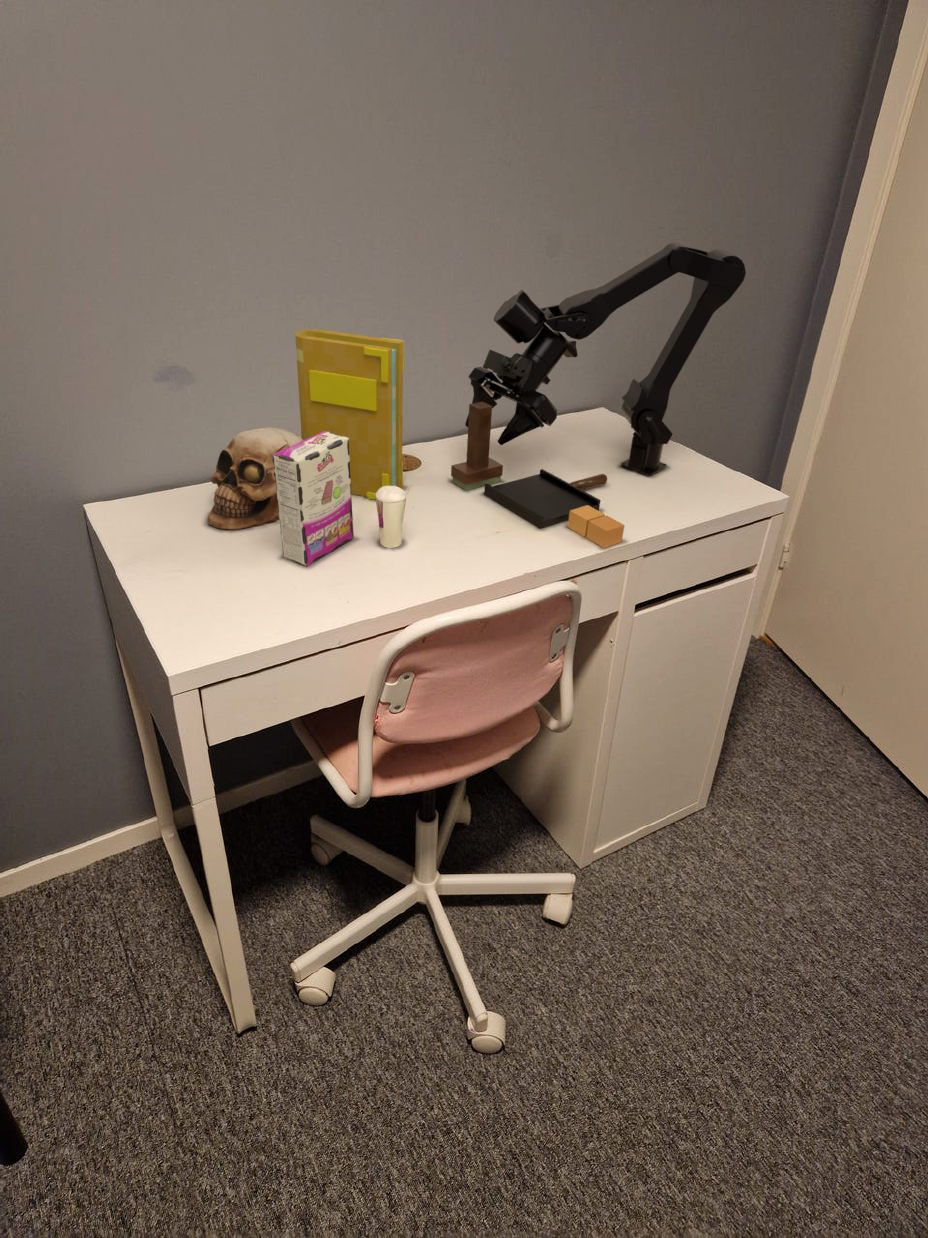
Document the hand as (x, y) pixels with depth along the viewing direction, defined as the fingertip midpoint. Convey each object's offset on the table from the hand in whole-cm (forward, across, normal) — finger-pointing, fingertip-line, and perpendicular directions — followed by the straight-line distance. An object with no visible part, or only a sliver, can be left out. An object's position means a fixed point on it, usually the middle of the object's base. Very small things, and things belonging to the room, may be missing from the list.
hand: (482, 434), depth 147 cm
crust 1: (+4, +24, +8) cm, 25 cm away
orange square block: (+4, +28, +8) cm, 30 cm away
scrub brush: (+7, 0, +6) cm, 9 cm away
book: (+21, -10, -8) cm, 25 cm away
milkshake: (+24, +12, -12) cm, 30 cm away
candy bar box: (+32, +7, -19) cm, 38 cm away
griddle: (+1, +12, +12) cm, 17 cm away
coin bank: (+32, -10, -20) cm, 39 cm away
